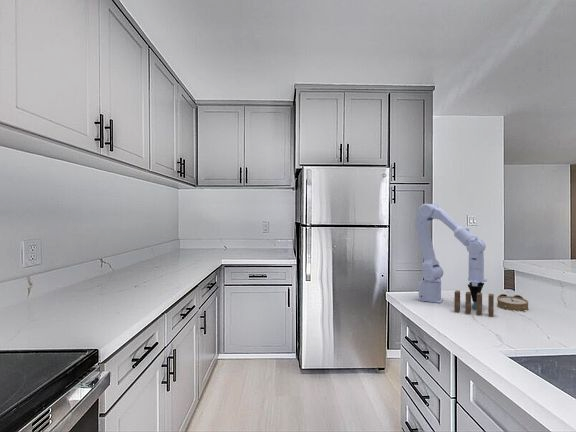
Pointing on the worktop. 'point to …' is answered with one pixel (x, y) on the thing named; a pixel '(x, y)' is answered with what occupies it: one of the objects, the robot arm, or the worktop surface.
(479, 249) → the robot arm
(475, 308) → the teal domino
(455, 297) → the domino
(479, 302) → the domino
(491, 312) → the domino
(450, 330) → the worktop surface
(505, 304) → the alarm clock
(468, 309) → the domino
